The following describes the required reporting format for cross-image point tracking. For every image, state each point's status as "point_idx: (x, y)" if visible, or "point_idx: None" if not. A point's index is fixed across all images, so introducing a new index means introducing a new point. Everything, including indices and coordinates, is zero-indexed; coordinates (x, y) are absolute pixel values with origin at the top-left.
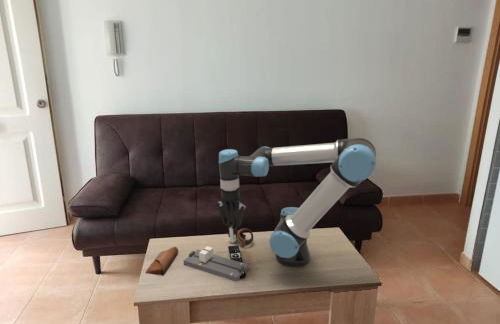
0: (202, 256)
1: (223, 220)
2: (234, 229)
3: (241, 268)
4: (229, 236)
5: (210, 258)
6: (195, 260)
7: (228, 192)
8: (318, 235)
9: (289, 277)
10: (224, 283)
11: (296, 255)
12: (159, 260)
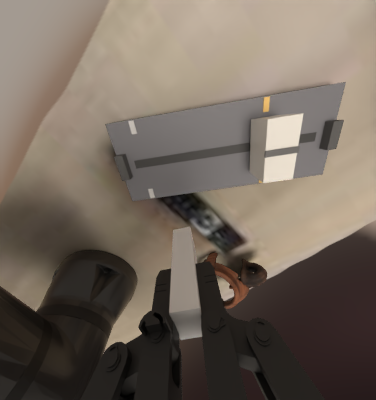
0: (276, 116)
1: (293, 391)
2: (162, 306)
3: (119, 165)
4: (258, 266)
5: (250, 154)
6: (296, 113)
7: None
8: (123, 336)
9: (42, 222)
10: (133, 87)
11: (51, 284)
12: None
